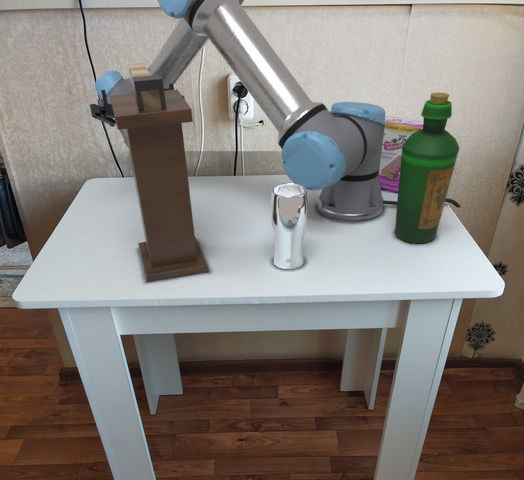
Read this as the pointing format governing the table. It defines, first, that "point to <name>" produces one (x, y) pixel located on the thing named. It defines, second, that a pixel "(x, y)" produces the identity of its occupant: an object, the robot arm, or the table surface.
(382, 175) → the candy bar box
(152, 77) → the long wooden bar
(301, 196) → the beer glass
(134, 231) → the table surface
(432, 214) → the bottle
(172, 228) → the wooden pedestal stand
